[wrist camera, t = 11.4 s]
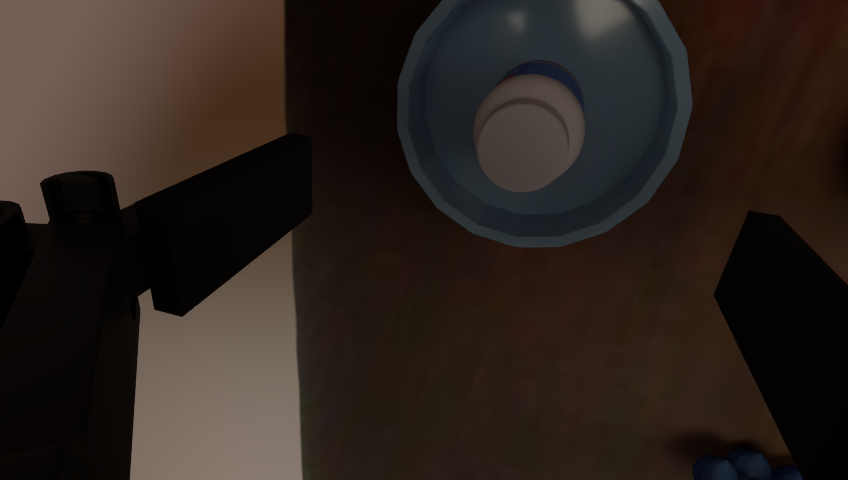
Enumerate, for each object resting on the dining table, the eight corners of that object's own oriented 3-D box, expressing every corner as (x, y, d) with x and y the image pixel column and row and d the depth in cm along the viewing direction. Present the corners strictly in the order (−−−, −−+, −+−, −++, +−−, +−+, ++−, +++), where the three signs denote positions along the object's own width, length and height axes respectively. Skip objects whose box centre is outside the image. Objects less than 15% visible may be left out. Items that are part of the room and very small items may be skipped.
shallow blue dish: (369, 106, 33) (345, 118, 30) (549, -111, 26) (545, -128, 22) (528, 264, 35) (523, 293, 31) (739, 104, 27) (763, 119, 24)
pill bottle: (512, 44, 29) (487, 62, 20) (600, 78, 28) (612, 110, 20) (479, 131, 32) (445, 179, 23) (558, 163, 31) (553, 224, 23)
